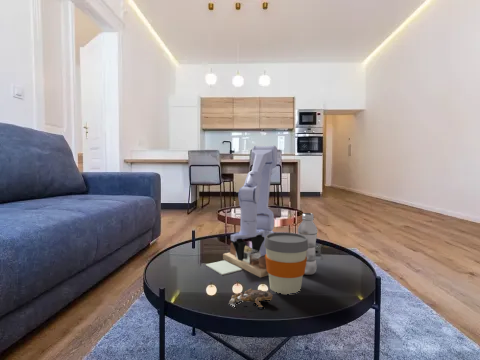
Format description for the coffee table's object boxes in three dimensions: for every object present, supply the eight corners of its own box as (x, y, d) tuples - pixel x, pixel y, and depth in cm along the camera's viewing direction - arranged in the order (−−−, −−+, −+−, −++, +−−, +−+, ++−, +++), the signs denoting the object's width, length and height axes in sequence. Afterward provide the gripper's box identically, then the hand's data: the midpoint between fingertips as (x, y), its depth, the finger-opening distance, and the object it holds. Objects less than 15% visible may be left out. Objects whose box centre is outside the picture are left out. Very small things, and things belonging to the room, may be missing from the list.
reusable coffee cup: (303, 300, 77) (305, 245, 76) (258, 293, 81) (259, 240, 80) (309, 282, 88) (310, 234, 88) (269, 277, 93) (270, 230, 92)
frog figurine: (280, 297, 79) (280, 284, 79) (266, 318, 68) (266, 302, 68) (242, 289, 84) (242, 276, 84) (223, 308, 73) (223, 293, 73)
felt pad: (224, 261, 107) (224, 260, 107) (242, 270, 98) (242, 269, 98) (205, 265, 103) (205, 264, 103) (222, 275, 94) (222, 274, 94)
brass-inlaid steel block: (246, 255, 108) (246, 244, 108) (260, 261, 101) (260, 249, 101) (235, 258, 105) (235, 246, 105) (249, 264, 98) (249, 252, 98)
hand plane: (237, 255, 114) (238, 240, 114) (276, 272, 96) (276, 255, 96) (222, 259, 110) (223, 243, 110) (260, 277, 92) (260, 259, 92)
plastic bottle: (317, 271, 98) (318, 212, 97) (315, 278, 92) (317, 216, 91) (298, 268, 100) (299, 211, 99) (295, 275, 94) (296, 214, 93)
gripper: (255, 216, 110) (255, 251, 111) (225, 220, 101) (225, 259, 101) (269, 219, 105) (268, 256, 105) (238, 224, 95) (237, 264, 96)
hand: (248, 258), depth 103 cm, fingers open, 6 cm apart
